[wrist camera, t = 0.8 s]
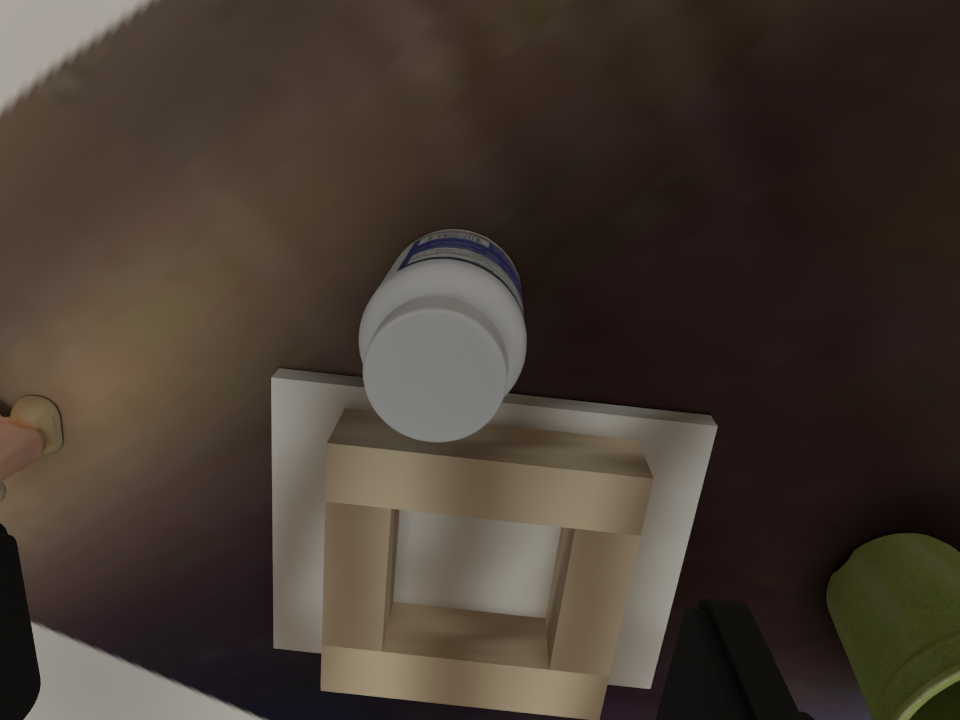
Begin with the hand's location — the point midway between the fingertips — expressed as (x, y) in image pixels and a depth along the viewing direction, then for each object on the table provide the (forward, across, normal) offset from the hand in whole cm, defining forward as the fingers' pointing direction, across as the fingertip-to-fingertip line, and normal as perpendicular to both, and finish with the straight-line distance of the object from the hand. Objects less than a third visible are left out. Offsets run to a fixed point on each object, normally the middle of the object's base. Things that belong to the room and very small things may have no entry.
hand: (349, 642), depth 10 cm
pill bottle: (+19, 0, 0) cm, 19 cm away
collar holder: (+18, -2, +11) cm, 21 cm away
